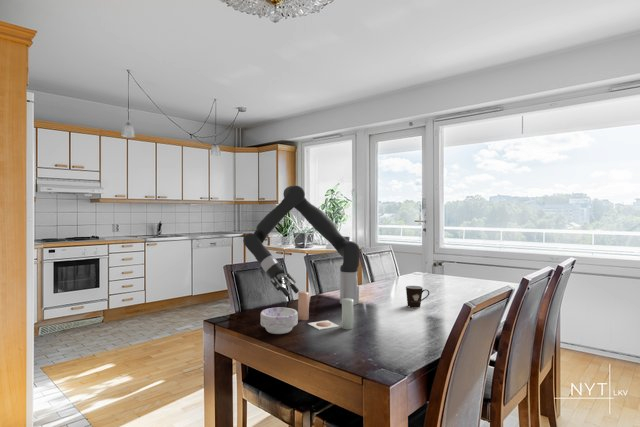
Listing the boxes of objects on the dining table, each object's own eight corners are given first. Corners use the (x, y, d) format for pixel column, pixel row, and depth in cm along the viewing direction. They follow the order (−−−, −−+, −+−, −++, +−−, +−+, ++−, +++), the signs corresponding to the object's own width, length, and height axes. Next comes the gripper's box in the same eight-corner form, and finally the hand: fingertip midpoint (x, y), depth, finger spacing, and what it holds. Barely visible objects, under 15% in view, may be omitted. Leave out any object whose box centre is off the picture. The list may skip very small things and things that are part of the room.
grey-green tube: (348, 325, 172) (349, 297, 172) (355, 328, 168) (355, 300, 167) (339, 327, 169) (339, 298, 169) (345, 330, 165) (346, 301, 165)
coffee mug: (404, 307, 205) (404, 287, 205) (407, 303, 213) (407, 285, 213) (427, 309, 201) (427, 289, 201) (429, 305, 209) (429, 286, 209)
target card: (327, 320, 179) (327, 319, 179) (339, 326, 170) (339, 325, 170) (307, 323, 174) (307, 322, 174) (319, 329, 165) (319, 328, 165)
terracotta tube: (305, 316, 185) (305, 291, 185) (310, 319, 181) (310, 293, 181) (296, 318, 182) (296, 292, 182) (301, 320, 178) (301, 294, 178)
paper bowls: (282, 339, 153) (282, 318, 153) (252, 332, 161) (252, 312, 161) (304, 329, 166) (305, 310, 166) (276, 323, 174) (276, 305, 174)
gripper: (268, 263, 181) (290, 291, 176) (284, 260, 194) (305, 286, 189) (258, 274, 183) (280, 302, 179) (275, 270, 196) (295, 296, 191)
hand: (293, 293), depth 184 cm, fingers open, 8 cm apart
